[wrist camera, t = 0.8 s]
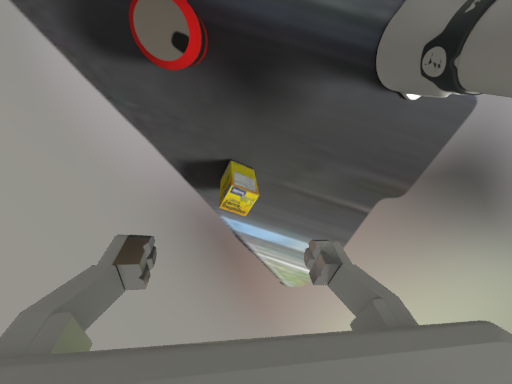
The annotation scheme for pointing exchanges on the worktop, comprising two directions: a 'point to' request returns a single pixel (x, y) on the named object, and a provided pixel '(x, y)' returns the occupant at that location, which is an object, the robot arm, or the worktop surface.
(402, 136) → the worktop surface
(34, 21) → the worktop surface
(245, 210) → the supplement box
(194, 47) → the soda can
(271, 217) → the worktop surface
